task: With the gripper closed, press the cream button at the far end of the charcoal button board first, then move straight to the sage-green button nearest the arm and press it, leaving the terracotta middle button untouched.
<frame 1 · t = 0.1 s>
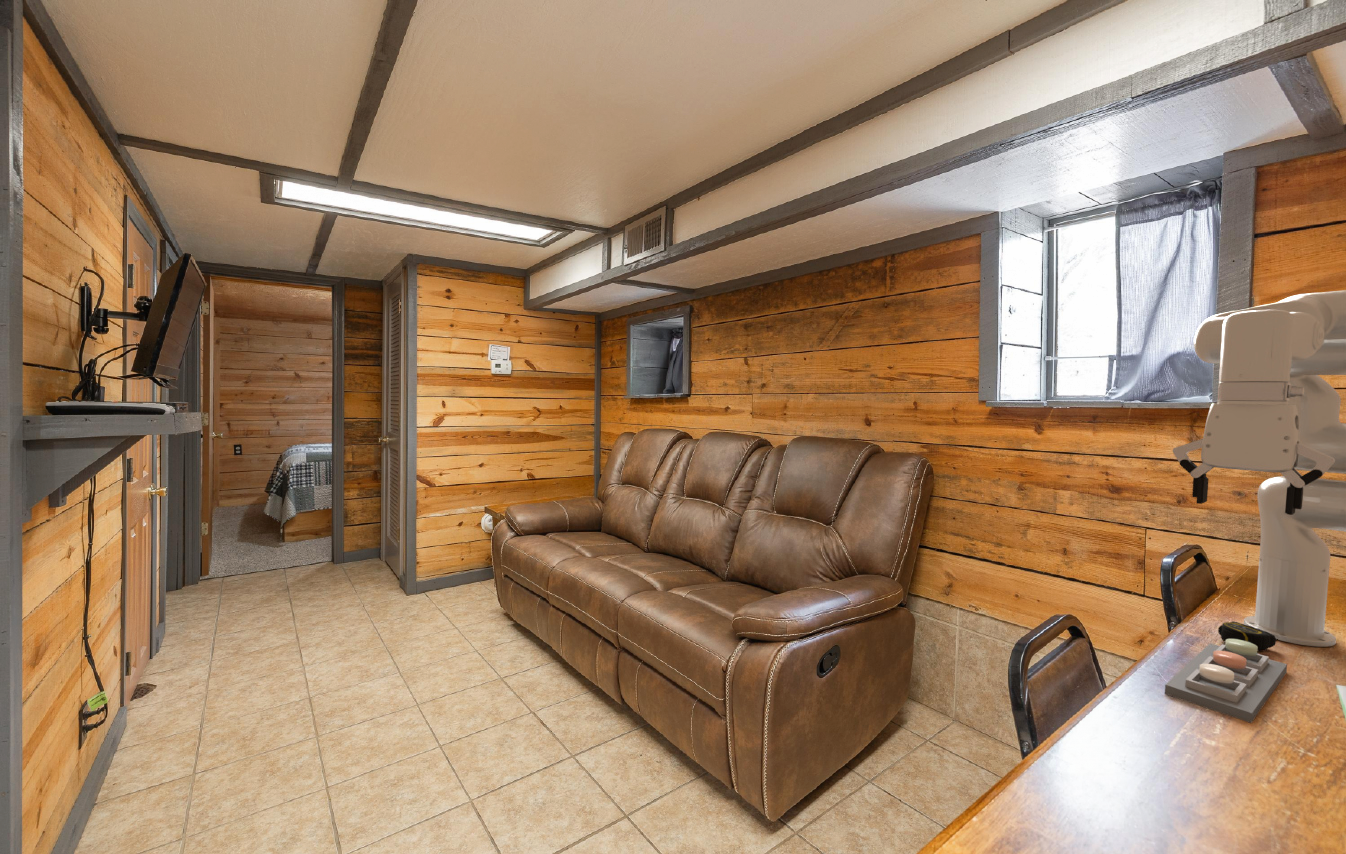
hand: (1244, 507, 88), 31 cm above the table, fingers open, 9 cm apart
button board: (1227, 682, 97), on the table
button terracotta: (1229, 659, 96), point 4 cm above the table, slide at 0.0 cm
button sage: (1241, 646, 101), point 4 cm above the table, slide at 0.0 cm
cream button: (1216, 673, 92), point 4 cm above the table, slide at 0.0 cm
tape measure: (1243, 646, 111), on the table
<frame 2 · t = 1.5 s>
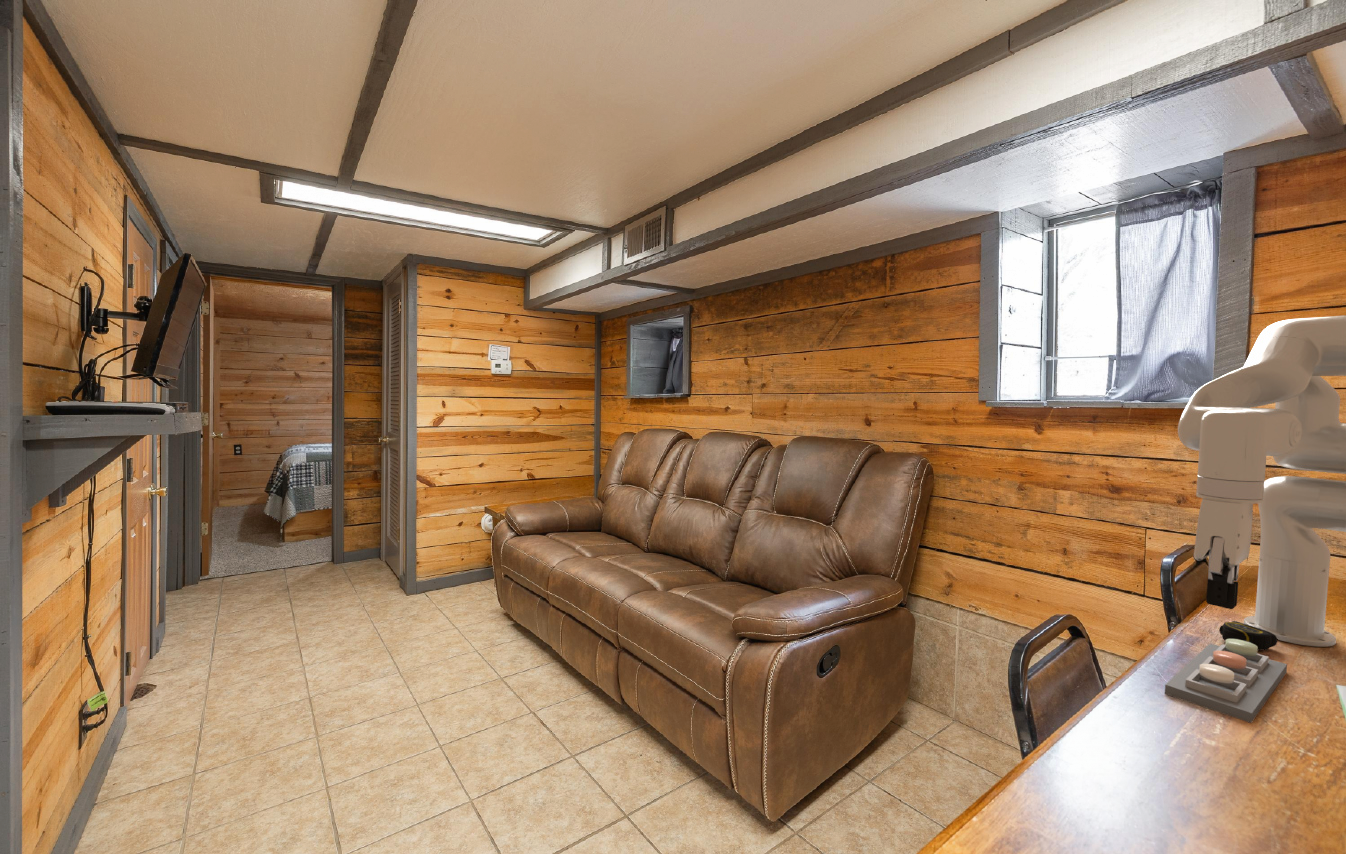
hand: (1221, 604, 91), 15 cm above the table, fingers closed
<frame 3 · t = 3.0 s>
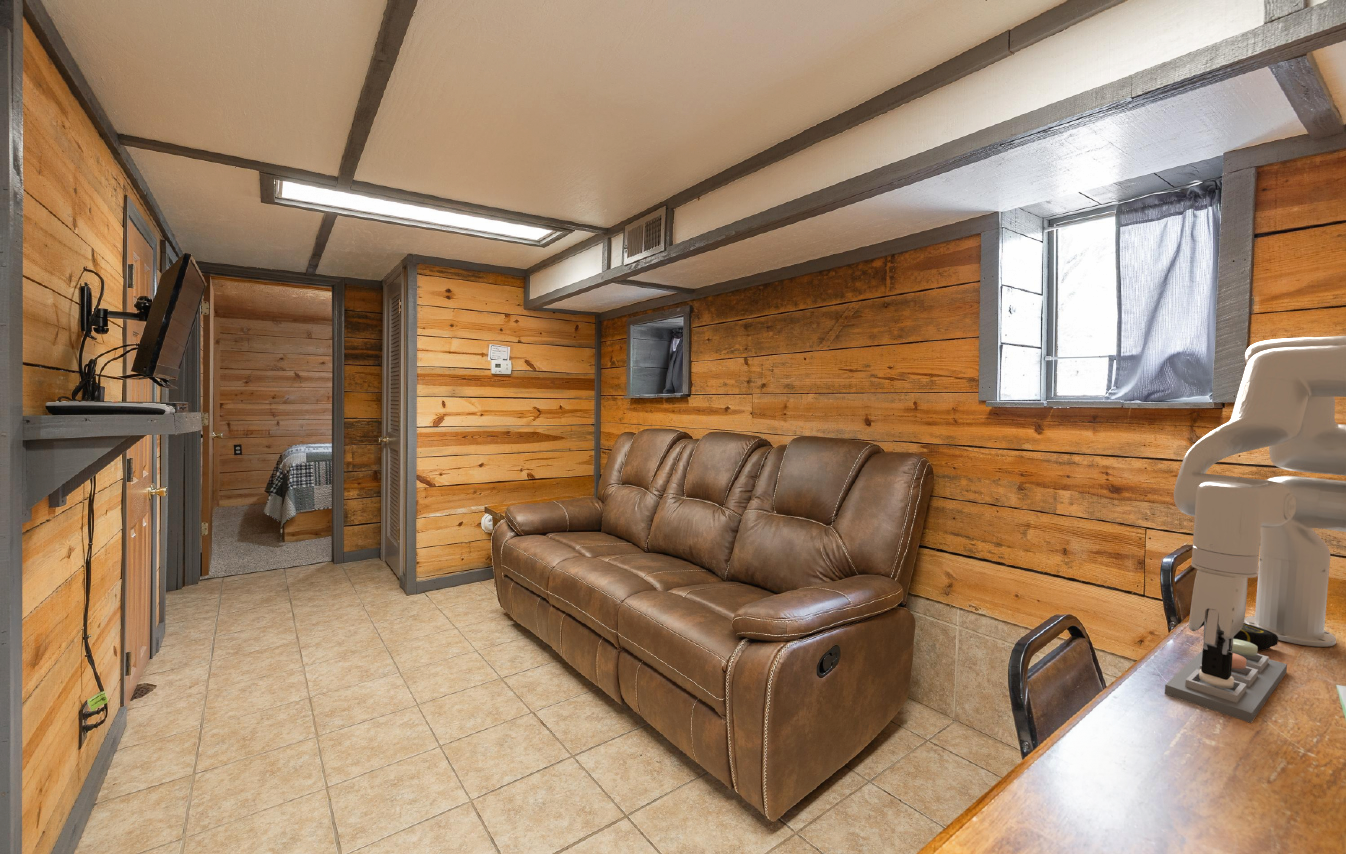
hand: (1215, 674, 92), 4 cm above the table, fingers closed
cream button: (1216, 678, 92), point 3 cm above the table, slide at 0.8 cm, touching gripper
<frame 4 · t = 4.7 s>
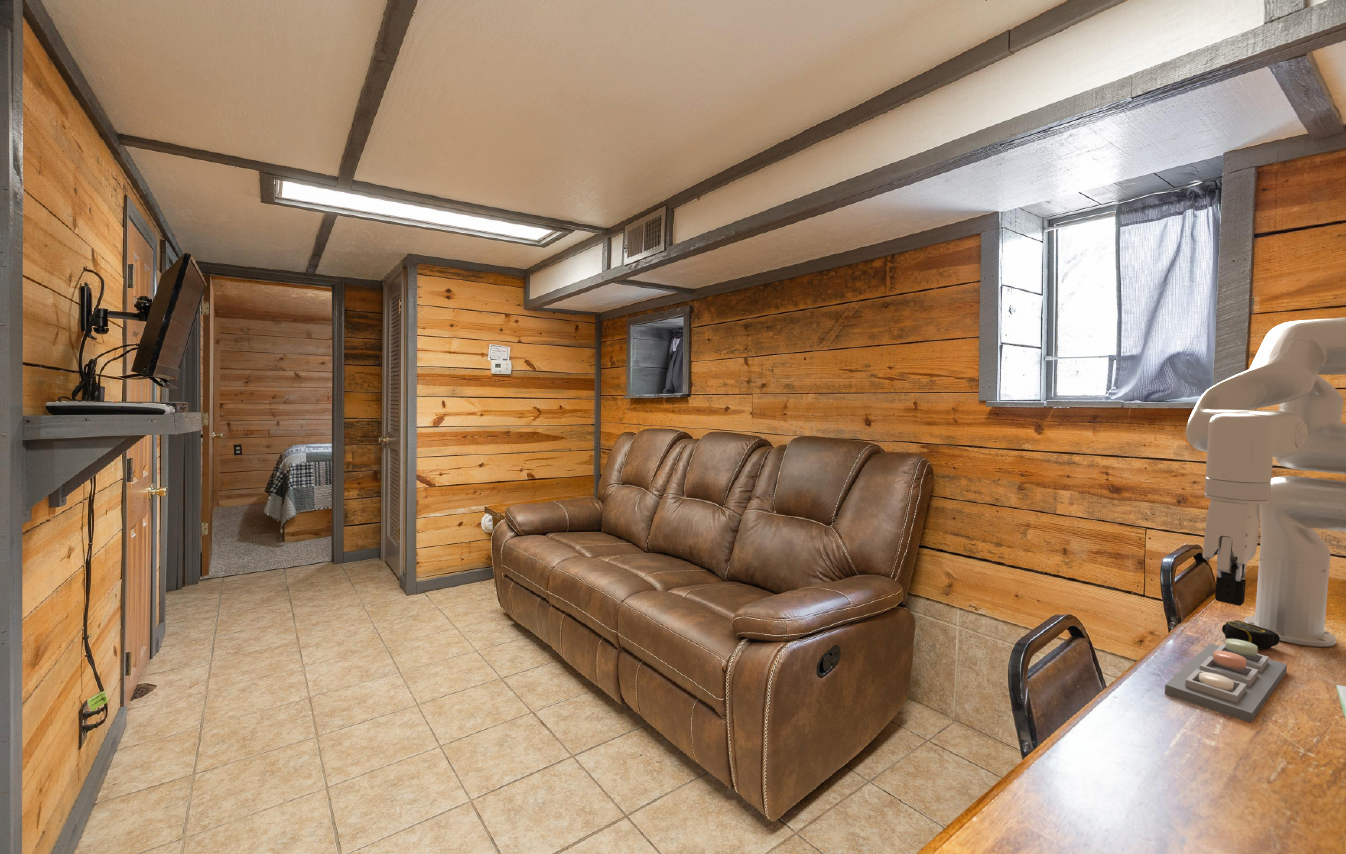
hand: (1229, 601, 94), 14 cm above the table, fingers closed
cream button: (1215, 682, 92), point 3 cm above the table, slide at 1.5 cm
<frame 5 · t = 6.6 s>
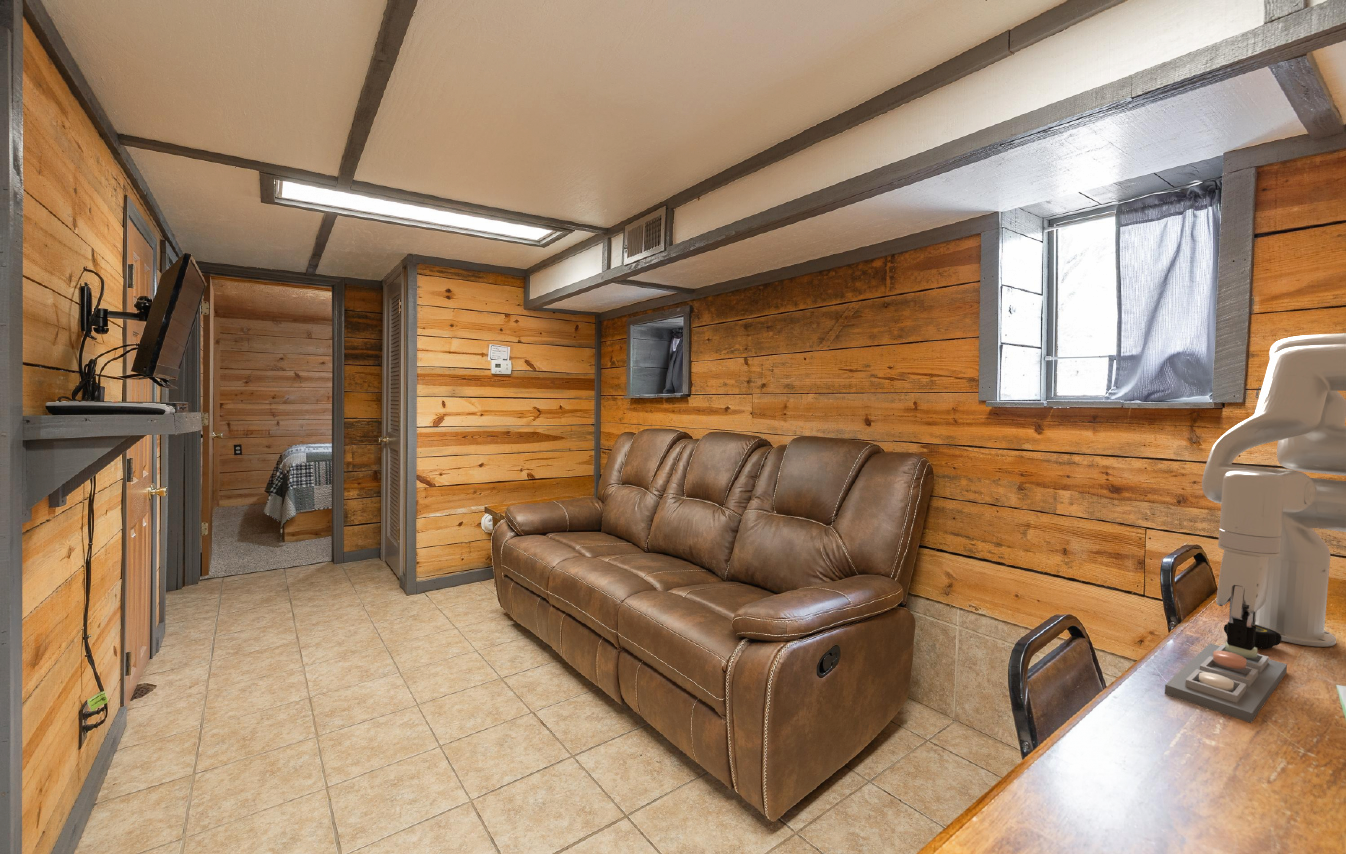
hand: (1240, 646, 101), 4 cm above the table, fingers closed
button sage: (1241, 649, 101), point 4 cm above the table, slide at 0.4 cm, touching gripper
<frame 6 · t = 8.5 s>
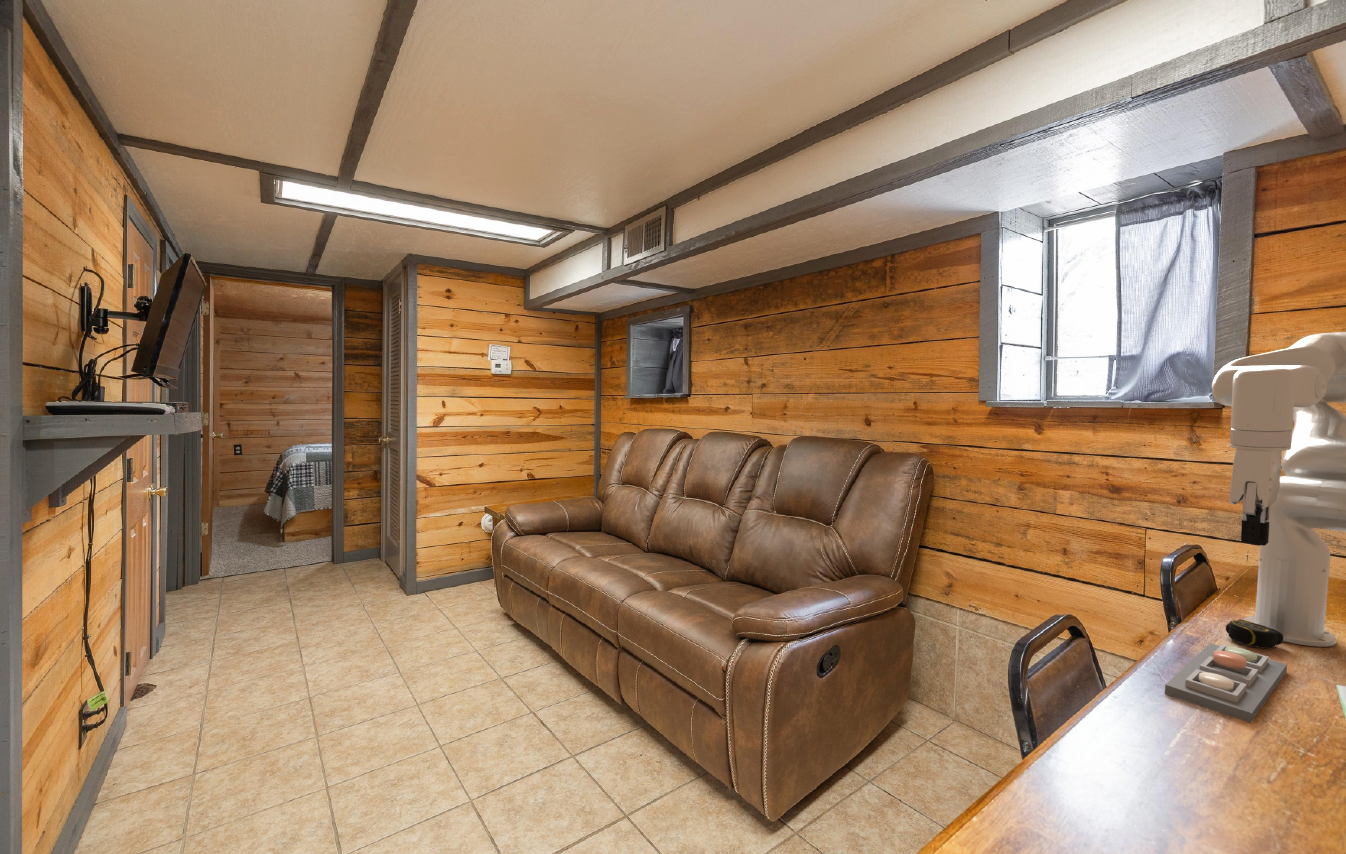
hand: (1254, 542, 102), 22 cm above the table, fingers closed
button sage: (1240, 655, 101), point 3 cm above the table, slide at 1.5 cm
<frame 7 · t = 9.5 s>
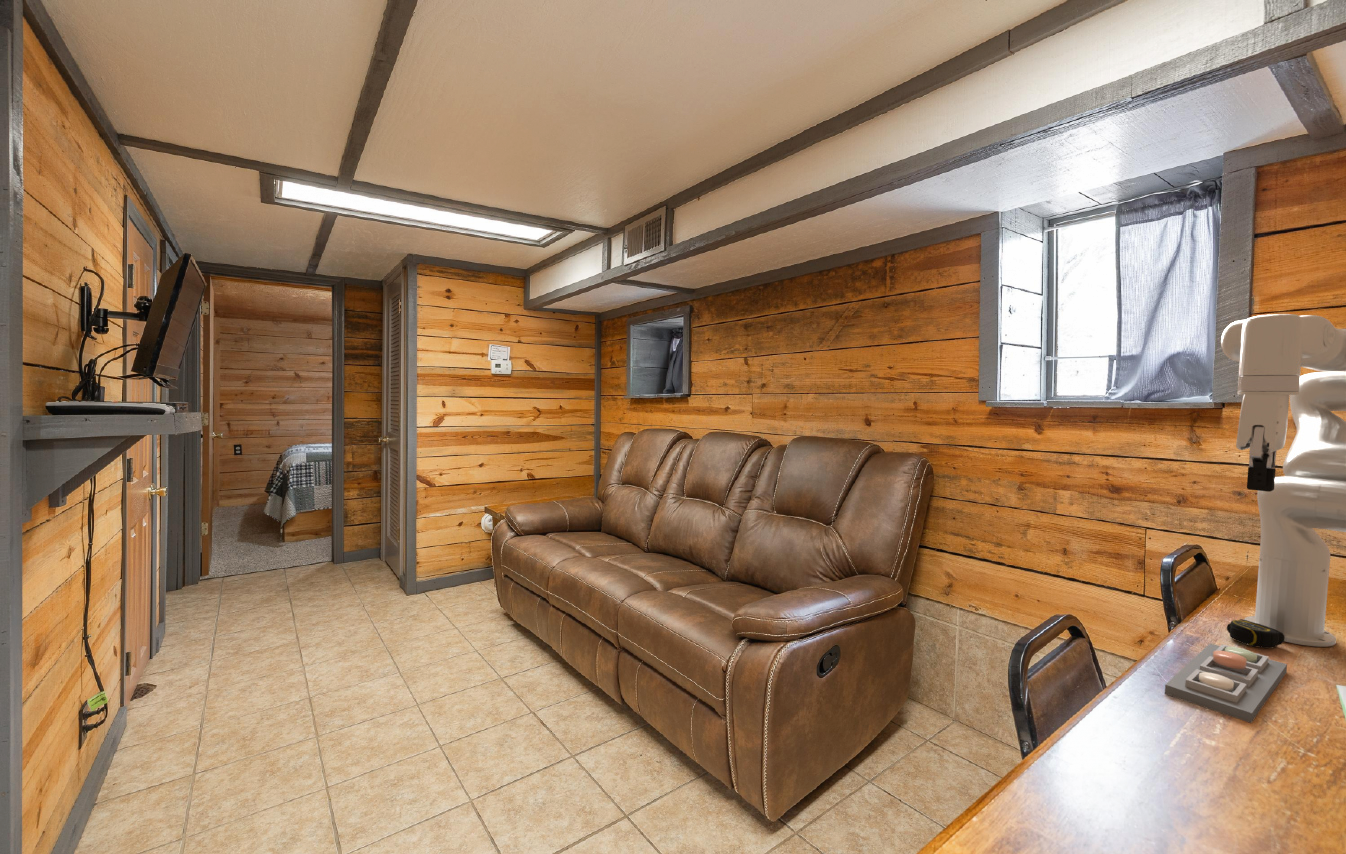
hand: (1260, 489, 103), 31 cm above the table, fingers closed
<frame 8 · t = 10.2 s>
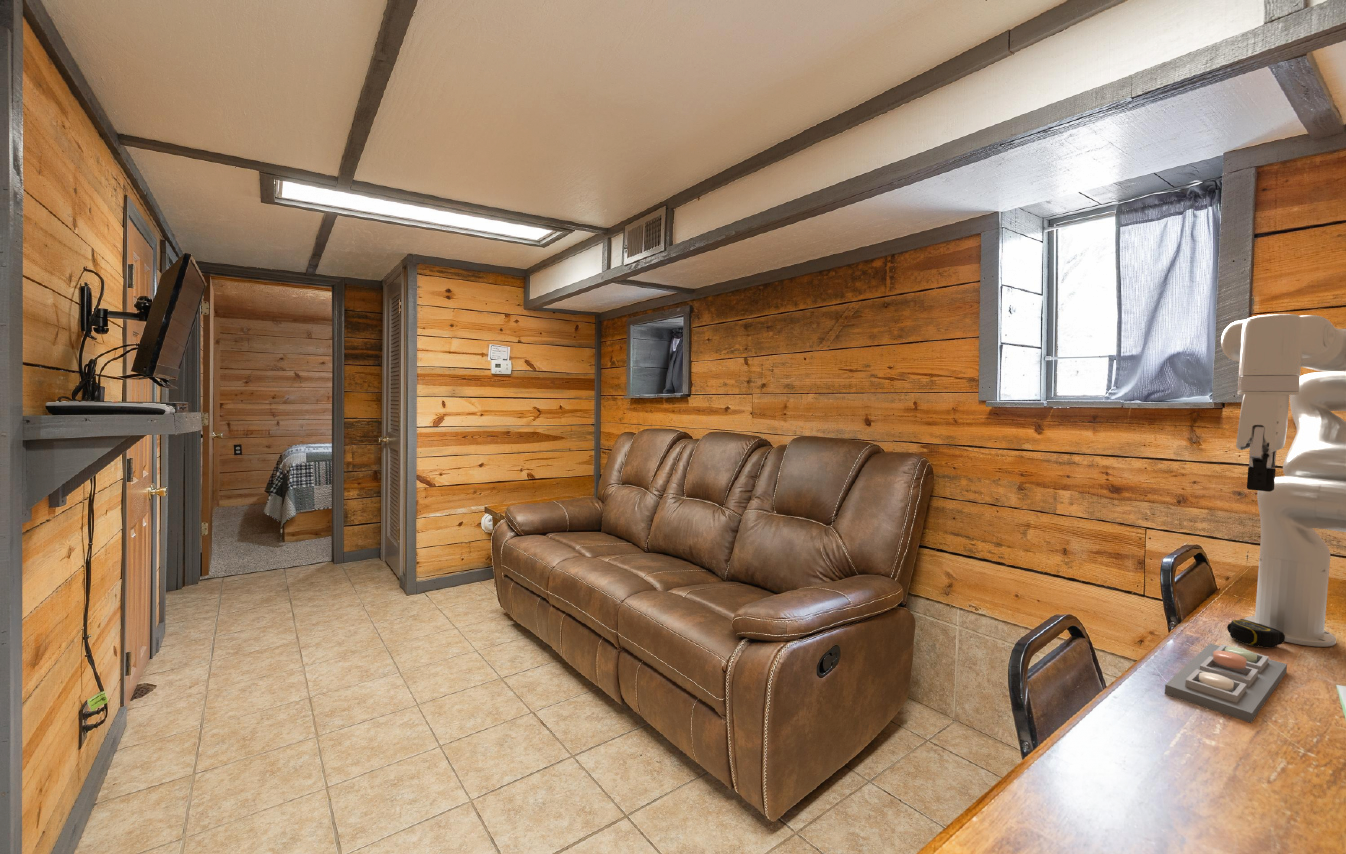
hand: (1260, 489, 103), 31 cm above the table, fingers closed
at the end: cream button slide at 1.5 cm; button sage slide at 1.5 cm; button terracotta slide at 0.0 cm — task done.
